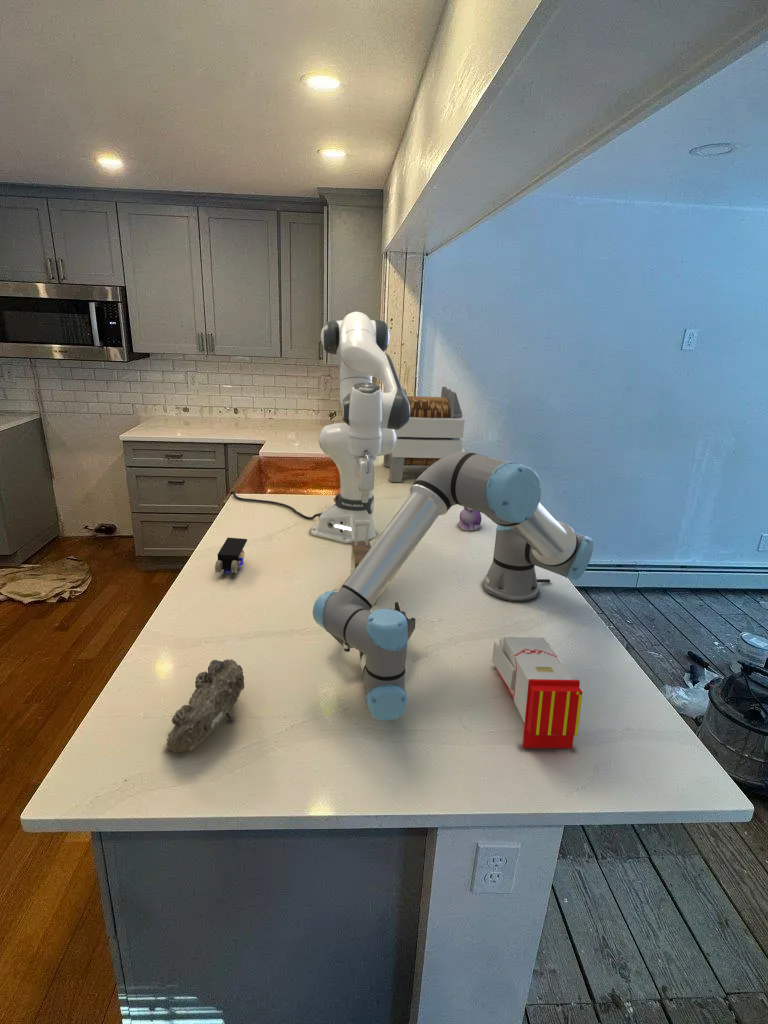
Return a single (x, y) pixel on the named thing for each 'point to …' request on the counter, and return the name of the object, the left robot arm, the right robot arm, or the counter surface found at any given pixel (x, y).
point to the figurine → (469, 519)
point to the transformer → (427, 433)
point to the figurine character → (230, 556)
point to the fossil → (206, 705)
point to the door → (360, 547)
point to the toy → (539, 691)
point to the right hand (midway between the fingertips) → (368, 607)
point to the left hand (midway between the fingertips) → (363, 496)
